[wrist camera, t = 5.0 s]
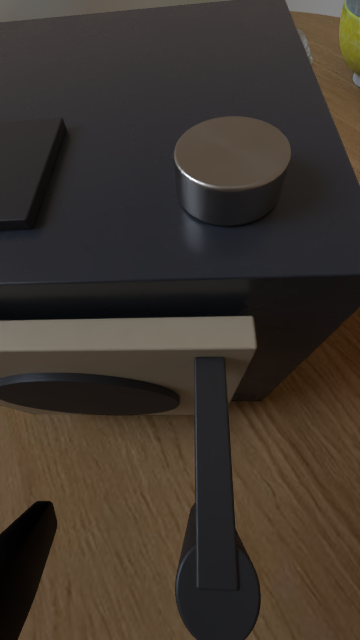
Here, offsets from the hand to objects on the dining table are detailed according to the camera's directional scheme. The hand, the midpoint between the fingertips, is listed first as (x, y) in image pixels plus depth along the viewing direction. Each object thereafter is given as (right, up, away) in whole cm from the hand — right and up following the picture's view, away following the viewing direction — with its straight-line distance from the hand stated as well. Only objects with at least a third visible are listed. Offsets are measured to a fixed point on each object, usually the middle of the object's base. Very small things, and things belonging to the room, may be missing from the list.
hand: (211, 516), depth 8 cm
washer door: (-4, -2, +7) cm, 8 cm away
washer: (-3, +7, +13) cm, 15 cm away
